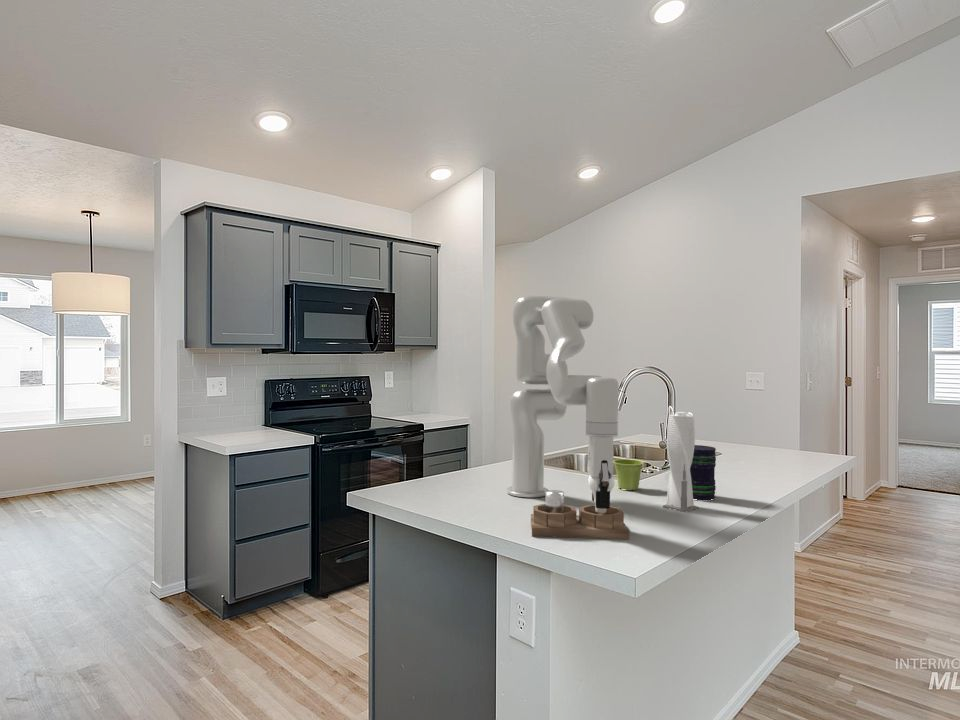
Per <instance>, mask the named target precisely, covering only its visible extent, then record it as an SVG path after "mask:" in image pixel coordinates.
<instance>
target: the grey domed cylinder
mask: <svg viewBox="0 0 960 720" xmlns="http://www.w3.org/2000/svg"><path fill="white" fill-rule="evenodd" d="M544 504H545V512H547V513H564V505H565V492H564V491H562V490H560V489H559V490H558V489H548V491H546V496H545V503H544Z"/></svg>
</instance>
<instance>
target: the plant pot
mask: <svg viewBox="0 0 960 720" xmlns="http://www.w3.org/2000/svg"><path fill="white" fill-rule="evenodd" d="M644 464H645V463H644V461H642V460H638V459H628V458H627V459H622V458H620V459H615V460H614V459H613V465H614V468H615V473H616V480H617V488H618V487H619V488H618V489H620V488H621V489H626V490H630V491H637V490H636V489H638V490H639V486H640V485H639V484H640V479H641V473H642V469H643V465H644ZM621 489H620V490H621ZM626 490H625V491H626Z"/></svg>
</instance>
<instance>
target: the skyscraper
mask: <svg viewBox="0 0 960 720" xmlns="http://www.w3.org/2000/svg"><path fill="white" fill-rule="evenodd" d="M671 412H672V414H671ZM695 436H696V431H695V417H694V414H693V413H692V412H691V411H689V412H685V411H676V412H675V410H674V409H673V406H671V405H669V406H668V419H667V428H666V450H667V458H668V464H669V469H670V471H669V477H668V485H667V486H668V487H667V492H666V493H667V494H666V504H663V505H662V508H664V507H667V508H666V509H669V508H671V509H670V510H673V509H676V510H675V511H678V510H680V511H679V512H682V511H685V512H684V513H687V512H686V511H688V512H690V511H689V510H691V511H694V510H693V509H695V510H697V509H696V508H698V509H699V508H700V506H697V505H694V500H693V491H692V481H691V474H690V467H691V463H692V459H693V453H694V445H696V444H695V443H696V442H695V441H696V440H695V439H696V437H695Z"/></svg>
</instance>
